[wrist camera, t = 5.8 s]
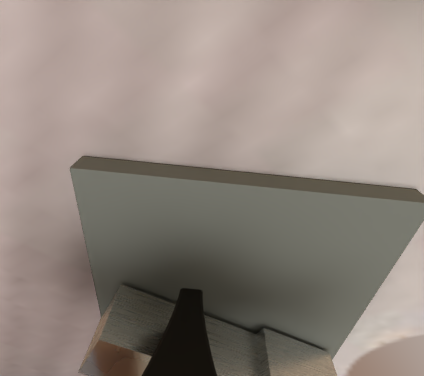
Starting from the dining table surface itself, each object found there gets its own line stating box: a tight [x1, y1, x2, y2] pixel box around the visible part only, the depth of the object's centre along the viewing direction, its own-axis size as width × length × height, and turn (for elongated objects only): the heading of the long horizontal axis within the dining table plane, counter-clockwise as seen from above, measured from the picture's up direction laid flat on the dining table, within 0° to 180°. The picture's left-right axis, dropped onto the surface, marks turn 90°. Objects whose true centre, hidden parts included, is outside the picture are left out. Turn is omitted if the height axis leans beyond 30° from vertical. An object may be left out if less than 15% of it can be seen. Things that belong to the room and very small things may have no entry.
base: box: [70, 156, 424, 359], centre depth 11 cm, size 15×13×6 cm
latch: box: [78, 284, 337, 376], centre depth 13 cm, size 12×4×2 cm, turn 60°
